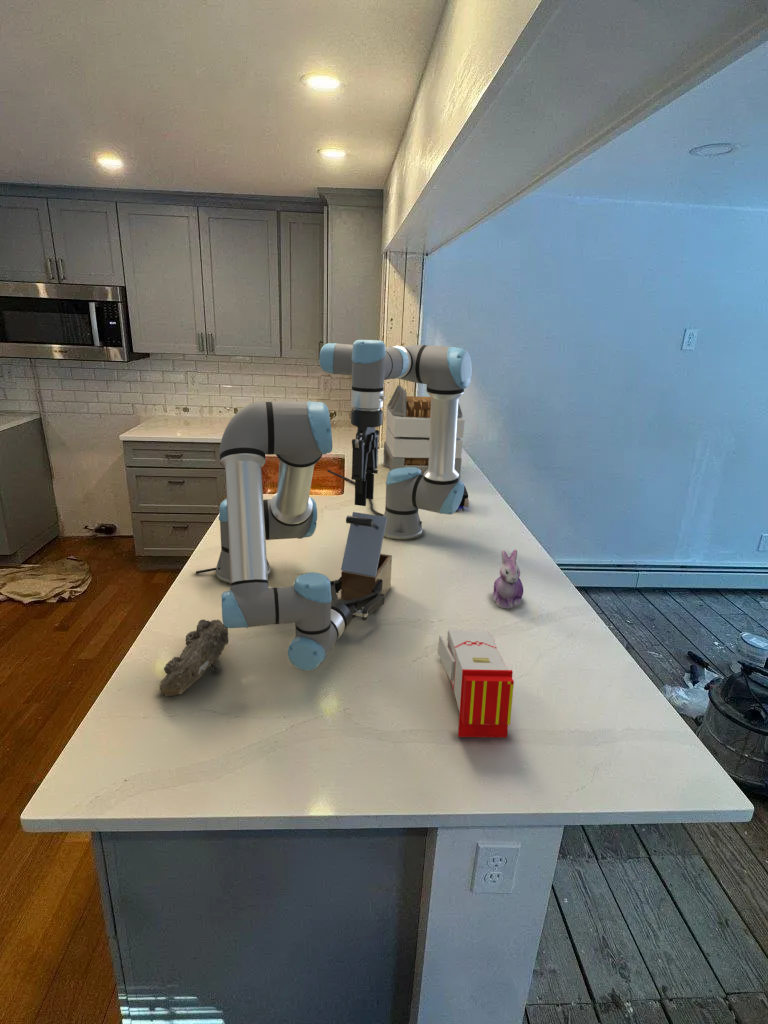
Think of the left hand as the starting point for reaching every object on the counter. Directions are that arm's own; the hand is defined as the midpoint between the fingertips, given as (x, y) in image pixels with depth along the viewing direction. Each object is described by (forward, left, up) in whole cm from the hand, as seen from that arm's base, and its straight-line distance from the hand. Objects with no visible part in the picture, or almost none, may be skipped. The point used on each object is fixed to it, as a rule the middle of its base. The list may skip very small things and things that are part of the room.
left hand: (363, 580), depth 150 cm
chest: (0, +3, -6) cm, 7 cm away
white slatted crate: (-17, +131, -6) cm, 132 cm away
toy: (+34, -28, -6) cm, 44 cm away
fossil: (-23, -41, -6) cm, 47 cm away
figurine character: (+10, +89, -6) cm, 90 cm away
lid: (0, 0, +11) cm, 11 cm away
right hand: (0, -1, +23) cm, 23 cm away
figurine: (+37, +15, -6) cm, 41 cm away
